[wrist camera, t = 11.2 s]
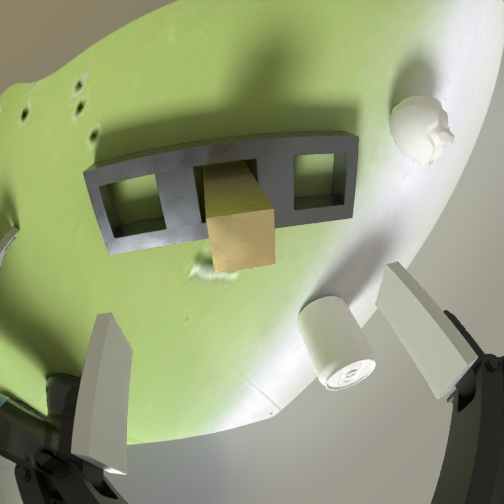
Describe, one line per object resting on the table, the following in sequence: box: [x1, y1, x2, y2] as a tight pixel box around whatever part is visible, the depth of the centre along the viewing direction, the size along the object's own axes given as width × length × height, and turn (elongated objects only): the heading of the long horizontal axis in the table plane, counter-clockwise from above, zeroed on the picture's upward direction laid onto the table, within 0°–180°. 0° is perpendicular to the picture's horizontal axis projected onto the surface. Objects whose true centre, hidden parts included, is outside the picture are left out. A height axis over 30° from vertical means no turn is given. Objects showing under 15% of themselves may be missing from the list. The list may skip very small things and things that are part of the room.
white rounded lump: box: [389, 95, 454, 165], centre depth 23 cm, size 8×8×8 cm
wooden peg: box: [203, 160, 275, 273], centre depth 22 cm, size 4×4×12 cm
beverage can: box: [297, 296, 376, 391], centre depth 35 cm, size 8×8×12 cm
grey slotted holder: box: [83, 131, 359, 255], centre depth 25 cm, size 9×26×3 cm, turn 94°
